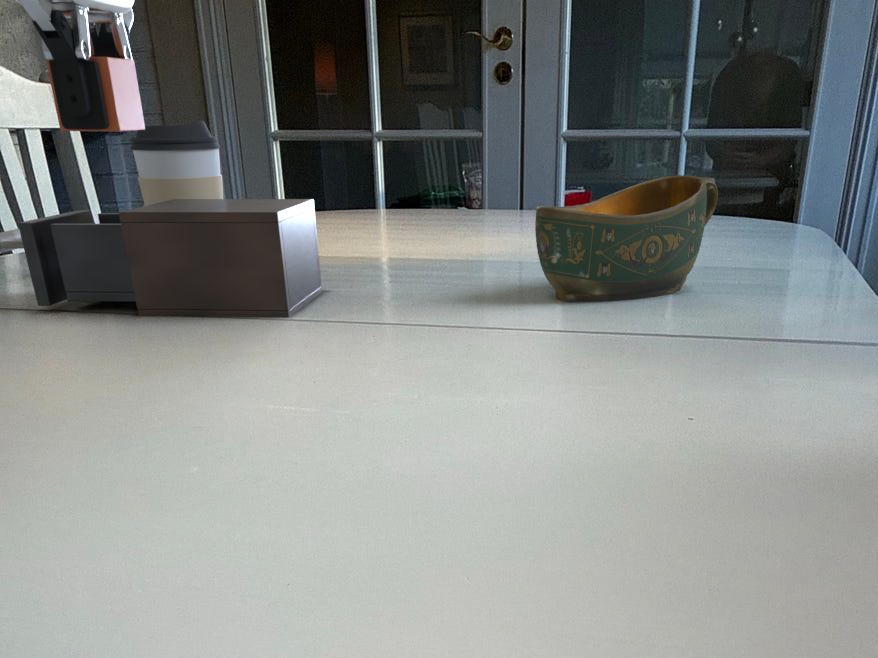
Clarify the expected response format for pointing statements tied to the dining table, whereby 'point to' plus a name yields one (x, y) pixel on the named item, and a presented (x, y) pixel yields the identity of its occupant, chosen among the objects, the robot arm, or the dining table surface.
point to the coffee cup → (177, 163)
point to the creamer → (626, 240)
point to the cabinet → (223, 257)
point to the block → (115, 95)
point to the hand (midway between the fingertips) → (102, 125)
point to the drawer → (74, 257)
